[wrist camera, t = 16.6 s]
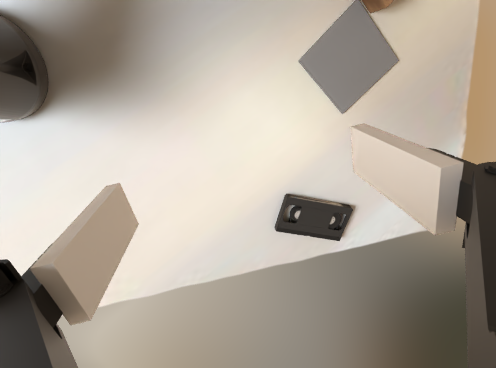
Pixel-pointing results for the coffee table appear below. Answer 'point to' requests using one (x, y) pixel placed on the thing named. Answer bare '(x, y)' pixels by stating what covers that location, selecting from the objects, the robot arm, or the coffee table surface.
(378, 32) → the slate rubber mat
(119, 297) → the coffee table surface
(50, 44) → the coffee table surface
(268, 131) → the coffee table surface
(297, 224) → the vhs tape
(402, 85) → the coffee table surface
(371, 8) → the walnut hole block
